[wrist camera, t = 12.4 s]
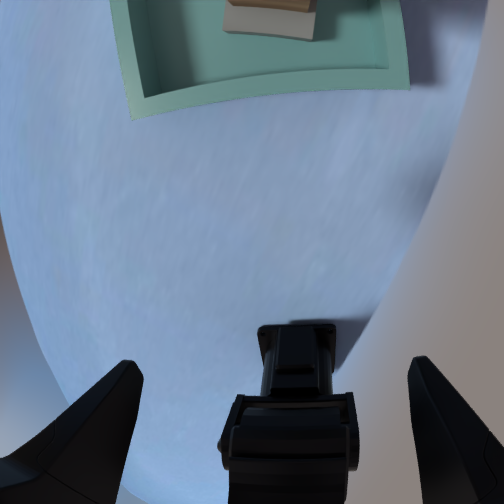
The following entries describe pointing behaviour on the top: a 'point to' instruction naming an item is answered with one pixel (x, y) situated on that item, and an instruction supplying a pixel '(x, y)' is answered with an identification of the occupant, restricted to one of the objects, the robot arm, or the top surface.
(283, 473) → the robot arm
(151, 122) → the top surface
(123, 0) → the tray
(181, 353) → the top surface
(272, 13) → the tall tan wooden block
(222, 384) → the top surface
